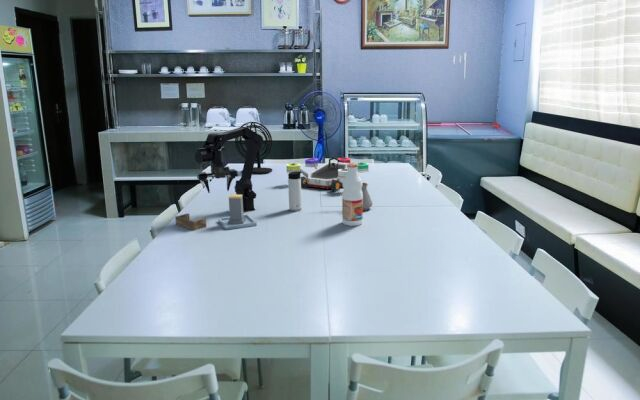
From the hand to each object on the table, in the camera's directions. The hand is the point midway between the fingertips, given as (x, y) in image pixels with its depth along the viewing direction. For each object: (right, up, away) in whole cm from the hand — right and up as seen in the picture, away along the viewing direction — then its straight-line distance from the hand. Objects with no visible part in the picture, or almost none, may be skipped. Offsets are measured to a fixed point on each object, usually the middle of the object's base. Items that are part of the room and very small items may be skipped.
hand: (218, 191), depth 249 cm
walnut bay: (-11, -16, -8) cm, 21 cm away
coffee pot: (+65, -8, +16) cm, 68 cm away
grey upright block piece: (+10, -14, -7) cm, 19 cm away
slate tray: (+10, -15, -6) cm, 19 cm away
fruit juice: (+64, -15, -9) cm, 66 cm away
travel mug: (+37, -9, +15) cm, 40 cm away
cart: (+56, +6, +71) cm, 91 cm away
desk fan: (+5, +15, +108) cm, 109 cm away
